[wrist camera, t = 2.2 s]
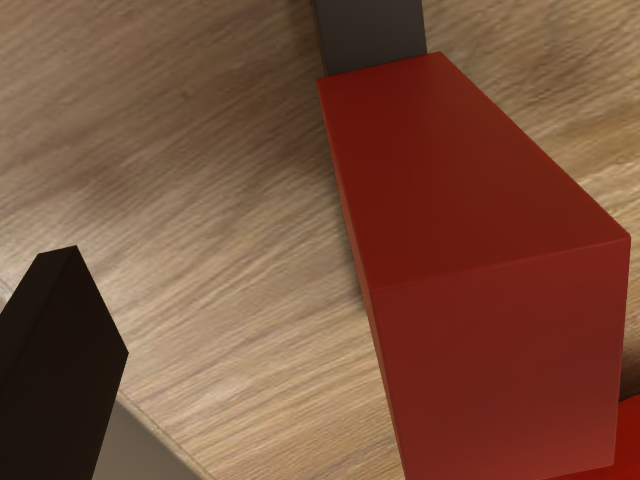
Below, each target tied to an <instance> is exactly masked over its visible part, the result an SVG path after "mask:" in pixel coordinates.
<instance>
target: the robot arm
mask: <svg viewBox="0 0 640 480" xmlns="http://www.w3.org/2000/svg"><path fill="white" fill-rule="evenodd" d="M128 354H129V352H128V350H127V348H126V346H125V344H124V342H123V340H122V338H121V336H120V334H119V332H118V329H117V327H116V325H115V323H114V321H113V319H112V317H111V315H110V313H109V311H108V309H107V307H106V305H105V303H104V301H103V299H102V297H101V294H100V292H99V290H98V288H97V286H96V284H95V282H94V280H93V278H92V276H91V274H90V272H89V270H88V268H87V266H86V264H85V262H84V259H83V257H82V255H81V253H80V251H79V249H78V247H77V245H75V246H70V247H66V248H61V249H57V250H52V251H48V252H43V253H39V254H37V256H36V258H35V259H34V261H33V262H32V264H31V266H30V267H29V269H28V270H27V272H26V274H25V275H24V277H23V279H22V280H21V282H20V283H19V285H18V287H17V288H16V290H15V291H14V293H13V295H12V296H11V298H10V299H9V301H8V303H7V304H6V306H5V307H4V309H3V311H2V312H1V314H0V480H92V477H93V473H94V470H95V466H96V463H97V460H98V456H99V453H100V449H101V446H102V442H103V439H104V436H105V432H106V429H107V425H108V422H109V419H110V415H111V412H112V408H113V405H114V402H115V398H116V395H117V391H118V388H119V385H120V381H121V378H122V374H123V371H124V368H125V364H126V361H127V357H128Z"/></svg>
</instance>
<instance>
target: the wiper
mask: <svg viewBox="0 0 640 480" xmlns="http://www.w3.org/2000/svg"><path fill="white" fill-rule="evenodd" d="M310 5H311V10H312V15H313V19H314V24H315V29H316V34H317V39H318V44H319V49H320V54H321V59H322V64H323V69H324V74H325V77H324V78H319V79H317V80H316V85H317V90H318V94H319V99H320V104H321V109H322V113H323V118H324V123H325V128H326V132H327V137H328V142H329V147H330V151H331V156H332V161H333V166H334V170H335V175H336V180H337V185H338V189H339V194H340V199H341V204H342V208H343V213H344V218H345V222H346V227H347V231H348V235H349V240H350V244H351V248H352V252H353V257H354V261H355V265H356V269H357V274H358V278H359V282H360V287H361V291H362V295H363V299H364V304H365V308H366V312H367V316H368V321H369V325H370V329H371V334H372V338H373V342H374V346H375V351H376V355H377V359H378V364H379V368H380V372H381V376H382V381H383V385H384V389H385V393H386V398H387V402H388V406H389V411H390V415H391V419H392V423H393V428H394V432H395V436H396V440H397V445H398V449H399V453H400V458H401V462H402V466H403V470H404V475H405V479H406V480H541V479H546V478H551V477H556V476H561V475H566V474H571V473H576V472H581V471H586V470H591V469H596V468H601V467H606V466H611V465H613V464H614V454H615V441H616V428H617V415H618V402H619V389H620V376H621V363H622V351H623V338H624V325H625V312H626V299H627V286H628V273H629V260H630V248H631V236H630V234H629V233H628V232H627V231H626V230H625V229H624V228H623V227H622V226H621V225H620V224H619V223H617V222H616V221H615V220H614V219H613V218H612V217H611V216H610V215H609V214H608V213H607V212H606V211H605V210H604V209H603V208H602V207H601V206H600V205H599V204H598V203H597V202H596V201H595V200H594V199H593V198H592V197H591V196H590V195H589V194H587V193H586V192H585V191H584V190H583V189H582V188H581V187H580V186H579V185H578V184H577V183H576V182H575V181H574V180H573V179H572V178H571V177H570V176H569V175H568V174H567V173H566V172H565V171H564V170H563V169H562V168H561V167H560V166H558V165H557V164H556V163H555V162H554V161H553V160H552V159H551V158H550V157H549V156H548V155H547V154H546V153H545V152H544V151H543V150H542V149H541V148H540V147H539V146H538V145H537V144H536V143H535V142H534V141H533V140H532V139H531V138H529V137H528V136H527V135H526V134H525V133H524V132H523V131H522V130H521V129H520V128H519V127H518V126H517V125H516V124H515V123H514V122H513V121H512V120H511V119H510V118H509V117H508V116H507V115H506V114H505V113H504V112H503V111H502V110H500V109H499V108H498V107H497V106H496V105H495V104H494V103H493V102H492V101H491V100H490V99H489V98H488V97H487V96H486V95H485V94H484V93H483V92H482V91H481V90H480V89H479V88H478V87H477V86H476V85H475V84H474V83H473V82H471V81H470V80H469V79H468V78H467V77H466V76H465V75H464V74H463V73H462V72H461V71H460V70H459V69H458V68H457V67H456V66H455V65H454V64H453V63H452V62H451V61H450V60H449V59H448V58H447V57H446V56H445V55H444V54H442V53H441V52H439V51H438V52H434V53H430V54H427V47H426V38H425V28H424V19H423V10H422V1H421V0H310Z"/></svg>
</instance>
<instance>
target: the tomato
mask: <svg viewBox="0 0 640 480" xmlns="http://www.w3.org/2000/svg"><path fill="white" fill-rule="evenodd" d="M544 480H640V395H635V396H633V397H630V398H628V399H625V400H623V401H621V402H618V415H617V428H616V441H615V454H614V464H613V465H611V466H606V467H601V468H596V469H591V470H586V471H581V472H576V473H571V474H566V475H561V476H556V477H551V478H546V479H544Z"/></svg>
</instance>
